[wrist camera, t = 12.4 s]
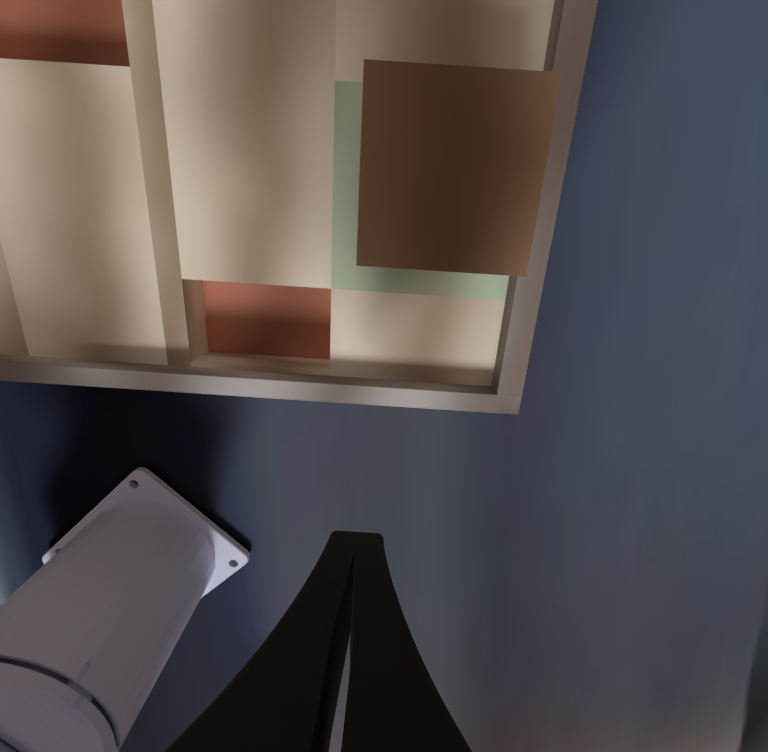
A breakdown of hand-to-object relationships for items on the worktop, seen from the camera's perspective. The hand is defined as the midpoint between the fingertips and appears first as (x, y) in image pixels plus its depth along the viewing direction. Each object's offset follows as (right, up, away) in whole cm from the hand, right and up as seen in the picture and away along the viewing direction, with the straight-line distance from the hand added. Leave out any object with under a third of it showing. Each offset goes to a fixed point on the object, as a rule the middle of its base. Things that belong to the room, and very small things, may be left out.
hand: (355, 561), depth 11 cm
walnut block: (+3, +12, +4) cm, 13 cm away
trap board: (-9, +13, +6) cm, 17 cm away
